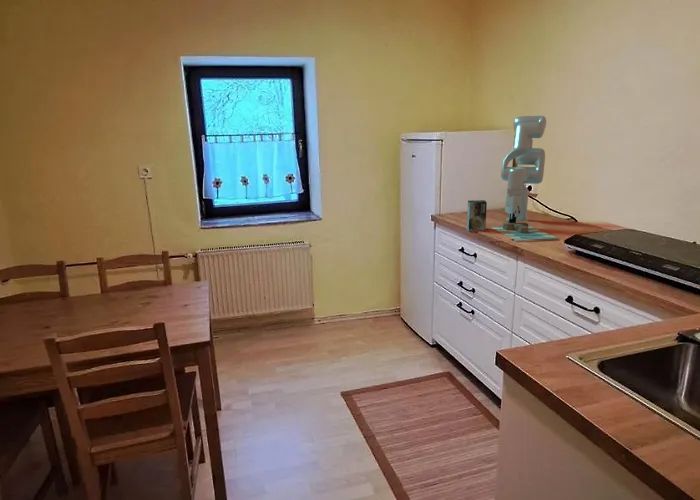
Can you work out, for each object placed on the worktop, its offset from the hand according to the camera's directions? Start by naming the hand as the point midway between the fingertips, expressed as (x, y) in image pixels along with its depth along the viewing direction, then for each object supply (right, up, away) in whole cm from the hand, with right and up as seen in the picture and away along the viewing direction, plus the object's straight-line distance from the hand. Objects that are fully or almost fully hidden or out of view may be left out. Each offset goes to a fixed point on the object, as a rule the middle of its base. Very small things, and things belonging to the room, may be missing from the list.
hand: (512, 225), depth 244 cm
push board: (+1, -5, -11) cm, 12 cm away
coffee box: (-20, -3, -1) cm, 20 cm away
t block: (+1, -3, -7) cm, 8 cm away
